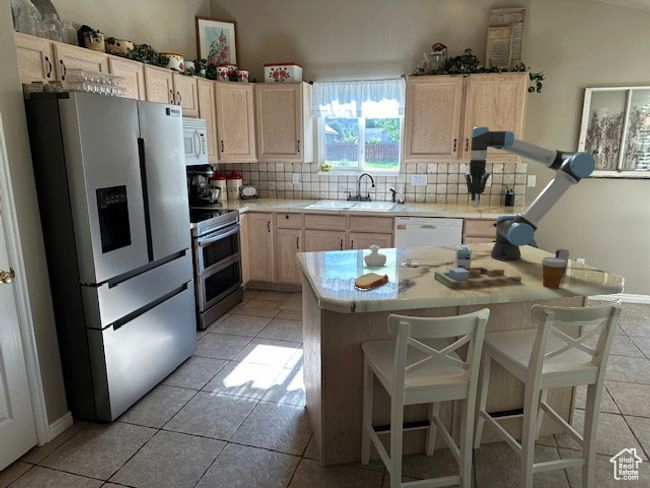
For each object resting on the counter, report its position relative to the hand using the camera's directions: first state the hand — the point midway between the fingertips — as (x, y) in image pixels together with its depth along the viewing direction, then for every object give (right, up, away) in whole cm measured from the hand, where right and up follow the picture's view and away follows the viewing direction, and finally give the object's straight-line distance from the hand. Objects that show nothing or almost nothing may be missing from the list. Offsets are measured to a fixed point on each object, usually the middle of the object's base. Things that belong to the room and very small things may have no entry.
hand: (474, 207), depth 219 cm
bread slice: (-54, -37, -25) cm, 70 cm away
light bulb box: (-7, -31, -2) cm, 32 cm away
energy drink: (+35, -33, -14) cm, 51 cm away
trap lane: (-7, -35, -20) cm, 40 cm away
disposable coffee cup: (+23, -37, -30) cm, 53 cm away
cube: (-16, -36, -24) cm, 46 cm away
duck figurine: (-50, -30, +5) cm, 58 cm away
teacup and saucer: (-33, -31, +2) cm, 45 cm away
